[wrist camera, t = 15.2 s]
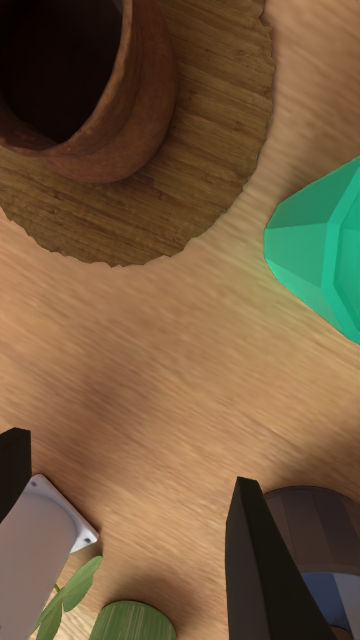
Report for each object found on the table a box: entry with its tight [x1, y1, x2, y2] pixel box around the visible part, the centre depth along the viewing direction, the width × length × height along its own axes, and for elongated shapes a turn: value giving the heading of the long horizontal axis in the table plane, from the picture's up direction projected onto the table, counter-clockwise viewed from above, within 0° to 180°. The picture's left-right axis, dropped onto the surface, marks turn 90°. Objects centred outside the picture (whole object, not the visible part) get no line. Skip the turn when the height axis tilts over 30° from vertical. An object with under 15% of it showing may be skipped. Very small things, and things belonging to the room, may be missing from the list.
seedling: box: [31, 556, 103, 640], centre depth 26 cm, size 7×8×6 cm
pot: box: [264, 486, 360, 567], centre depth 20 cm, size 10×10×6 cm
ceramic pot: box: [0, 0, 276, 268], centre depth 12 cm, size 18×18×7 cm
